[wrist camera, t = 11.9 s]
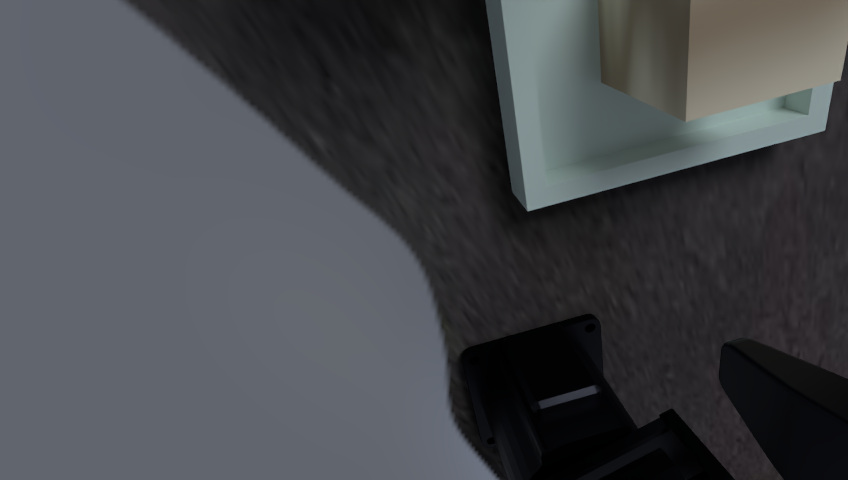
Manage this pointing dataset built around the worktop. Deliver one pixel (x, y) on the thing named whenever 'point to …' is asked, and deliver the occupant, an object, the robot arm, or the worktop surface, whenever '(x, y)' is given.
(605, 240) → the worktop surface
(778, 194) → the worktop surface
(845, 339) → the worktop surface
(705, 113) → the birch block
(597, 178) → the tray
